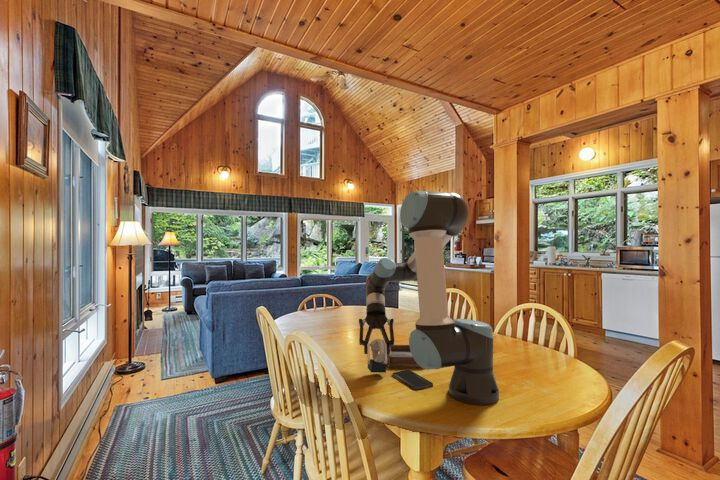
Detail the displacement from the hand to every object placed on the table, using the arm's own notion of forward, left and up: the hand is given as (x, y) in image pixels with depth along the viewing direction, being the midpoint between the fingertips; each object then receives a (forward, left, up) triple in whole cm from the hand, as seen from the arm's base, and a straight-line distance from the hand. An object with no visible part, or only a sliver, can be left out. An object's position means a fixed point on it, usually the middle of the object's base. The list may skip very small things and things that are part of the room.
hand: (377, 361), depth 127 cm
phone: (-1, -12, -6) cm, 14 cm away
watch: (+3, 0, -4) cm, 5 cm away
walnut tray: (+19, -12, -6) cm, 23 cm away
